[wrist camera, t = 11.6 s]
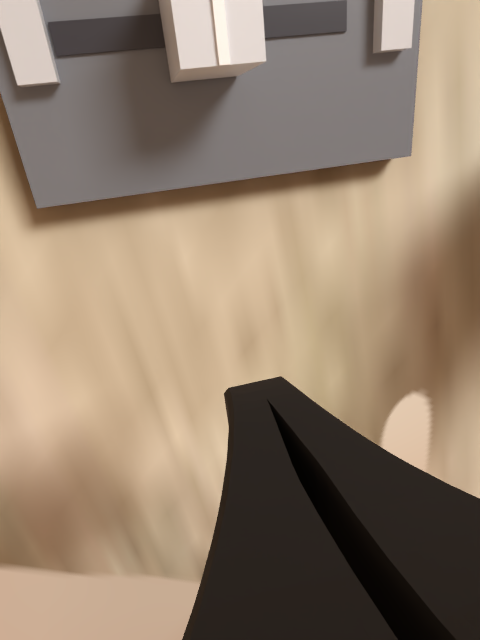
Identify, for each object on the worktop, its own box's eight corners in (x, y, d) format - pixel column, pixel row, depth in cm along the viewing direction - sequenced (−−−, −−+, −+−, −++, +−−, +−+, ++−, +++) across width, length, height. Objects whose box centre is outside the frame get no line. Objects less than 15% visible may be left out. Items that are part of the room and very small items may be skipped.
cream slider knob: (228, -32, 13) (258, -83, 10) (238, 75, 15) (267, 60, 11) (153, -28, 13) (160, -80, 10) (171, 82, 14) (181, 68, 11)
